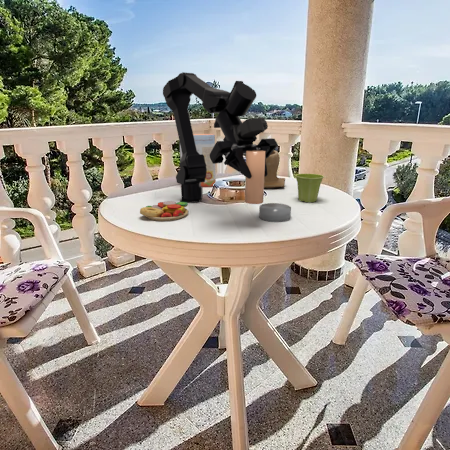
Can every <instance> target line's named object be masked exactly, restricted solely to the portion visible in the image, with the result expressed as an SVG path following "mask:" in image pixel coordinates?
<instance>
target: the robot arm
mask: <svg viewBox="0 0 450 450" xmlns="http://www.w3.org/2000/svg"><path fill="white" fill-rule="evenodd" d="M233 84H234V85H233V86H232V89H231V91H227V90H223V89H220V88H215V87H213V86H211V85H209V83H207V82H205V81H204V80H203V79H201V78H200V77H198V76H197V74H195V73H194V72H183V71H182V72H180V73H179V74H178V75H177V76H176V77H174V78H172V79H169V80H168V81H167V82H166V84H165V85H164V86H163V88H162V96H163V98H164V100H165V101H164V102H165V103H166V105H167V107H168V108H169V109H170V111H172V113H173V117H174V121H175V128H176V131H177V136H178V140H179V146H180V145H181V150H182V157H181V160H180V159H179V170H178V171H177V173H176V175H175V179H176V183H177V184H180V189H181V190H180V191H181V192H180V193H181V199H180V201H179V202H187V203H200V201H201V200H202V199H203V195H204V194H203V192H204V191H203V187H202V186H201V182H205V178H206V173H207V168H206V163H205V158H204V155H203V154H201V155H200V154H199V153H198V152H197V150H196V145H195V140H194V136H193V134H194V131H193V127H192V123H191V119H190V114H189V105H190V104H191V103H190V102H191V101H192V100H191V97H192V96H193V95H194V96H195V97H197V98H198V99H199V100H201V103H202V105H201V106H202V107H203V108H204V109H205V110H206V112H207V113H209V114H217V117H215V118H214V119H215V121H214V122H213V128H215V129H220V130H221V132H222V134H223V136H224V138H222V140H217V141H215V146H214V147H213V149H212V151H211V153H210V159H211V161H212V163H213V164H215V165H216V164H224V165H225V166H228V167H230V168H231V169H234V171H237V172H239V173H240V174H241V175H242V176H244V177H245V176H246V177H247V178H248V179H250V178H251V177H252V175H251V172H250V170H249V168H248V166H247V164H246V159H245V157H244V155H246V151H247V150H263V151H265V174H264V177H266V176H267V174H268V173H267V165H266V158H268V157H269V156H270V155H271V153H272V152H273V151H274V150H275V149H277V147H278V142H277V141H276V139H275V138H261V139H260V141H259V142H258V143H257V144H256V143H254V142H256V141H257V139H258V137H257V136H258V135H260V134H261V133H264V132H265V131H266V130H267V129H268V127H269V126H268V122H267V120H266V119H265V117H256V118H247V119H244V120H243V122H242V120H241V118H240V117H244V116H246V114H247V113H248V111H249V110H250V108H251V106H252V104H253V103H254V101H255V99H256V98H257V93H256V90H254V89H253V88H252V87H251V86H249V85H248V84H245V82H244V81H243V80H236V81H235V82H234V83H233ZM275 151H276V150H275ZM224 158H225V159H224ZM223 161H224V162H223Z"/></svg>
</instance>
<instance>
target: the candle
mask: <svg viewBox="0 0 450 450" xmlns="http://www.w3.org/2000/svg"><path fill="white" fill-rule="evenodd" d="M245 162H246V164H247V166H248V168H249V170H250V172H251V175H252V177H251V178H250V179H248V178H247V177H246V176H244V177H245V179H244V180H245V181H244V183H245V184H244V187H245V188H244V202H245V204H249V205H250V204H251V205H259V204H260V205H262V204H264V193H265V188H264V174H265V151H263V150H247V151H246V154H245Z"/></svg>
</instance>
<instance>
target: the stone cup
mask: <svg viewBox="0 0 450 450" xmlns="http://www.w3.org/2000/svg"><path fill="white" fill-rule="evenodd" d="M266 165H267V173H268V174H267V176H266V177H264V189H265V188H266V189H267V188H268V189H270V188H271V189H273V188H275V189H276V188H284V187H285V184H286V178H285V177H278V171H279V165H280V155H279V152H278V151H277V150H274V151H273V152H272V153H271V155H270V156H269V157H268V158H266Z"/></svg>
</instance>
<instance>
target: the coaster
mask: <svg viewBox="0 0 450 450" xmlns="http://www.w3.org/2000/svg"><path fill="white" fill-rule="evenodd" d="M258 210H259V211H258V218H259V219H260V220H263V221H265V222H271V223H273V222H274V223H281V222H287V221H290V219H291V215H292V207H291V206H290V205H288V204H284V203H278V202H270V203H261V204H260V205H259V209H258Z"/></svg>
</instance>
